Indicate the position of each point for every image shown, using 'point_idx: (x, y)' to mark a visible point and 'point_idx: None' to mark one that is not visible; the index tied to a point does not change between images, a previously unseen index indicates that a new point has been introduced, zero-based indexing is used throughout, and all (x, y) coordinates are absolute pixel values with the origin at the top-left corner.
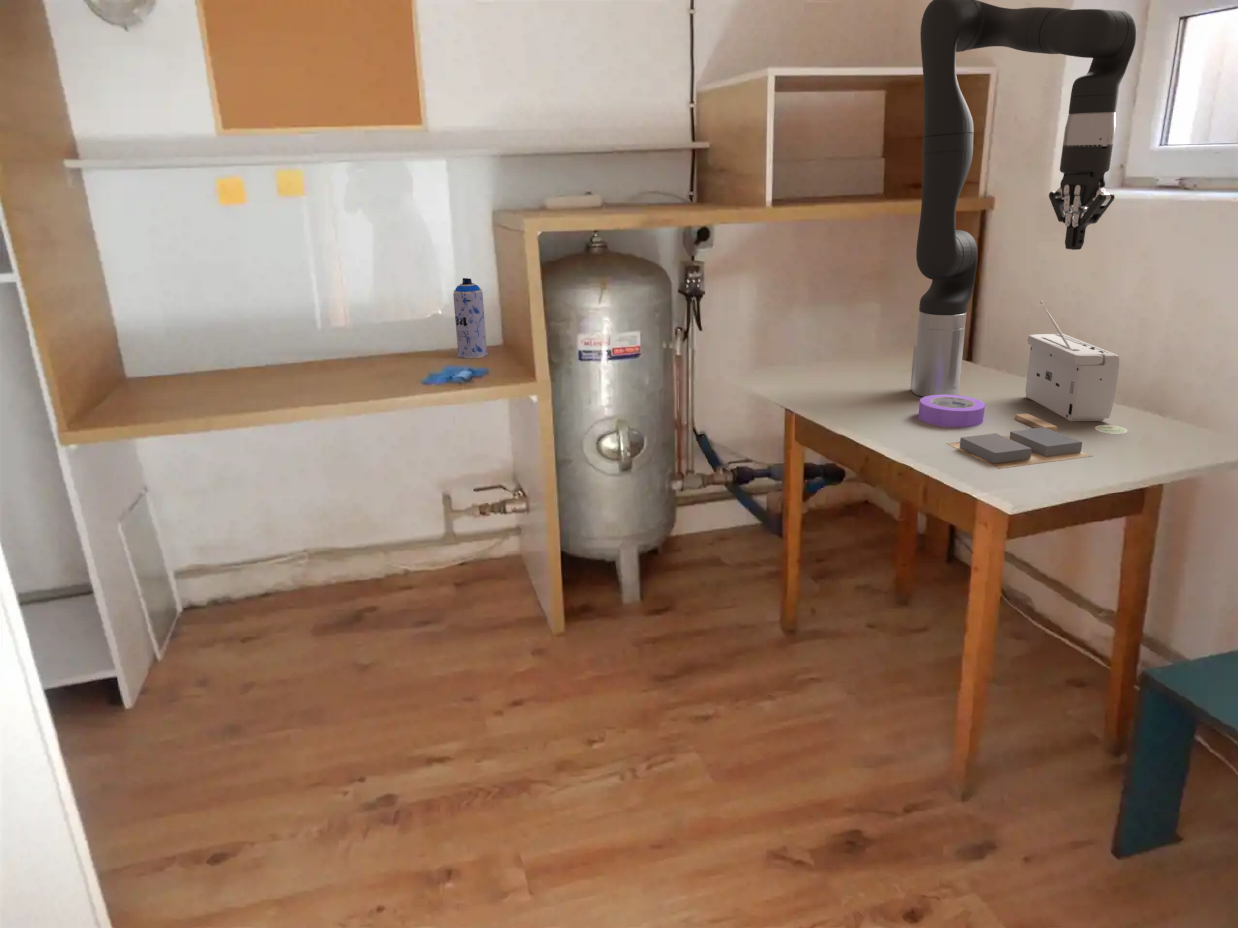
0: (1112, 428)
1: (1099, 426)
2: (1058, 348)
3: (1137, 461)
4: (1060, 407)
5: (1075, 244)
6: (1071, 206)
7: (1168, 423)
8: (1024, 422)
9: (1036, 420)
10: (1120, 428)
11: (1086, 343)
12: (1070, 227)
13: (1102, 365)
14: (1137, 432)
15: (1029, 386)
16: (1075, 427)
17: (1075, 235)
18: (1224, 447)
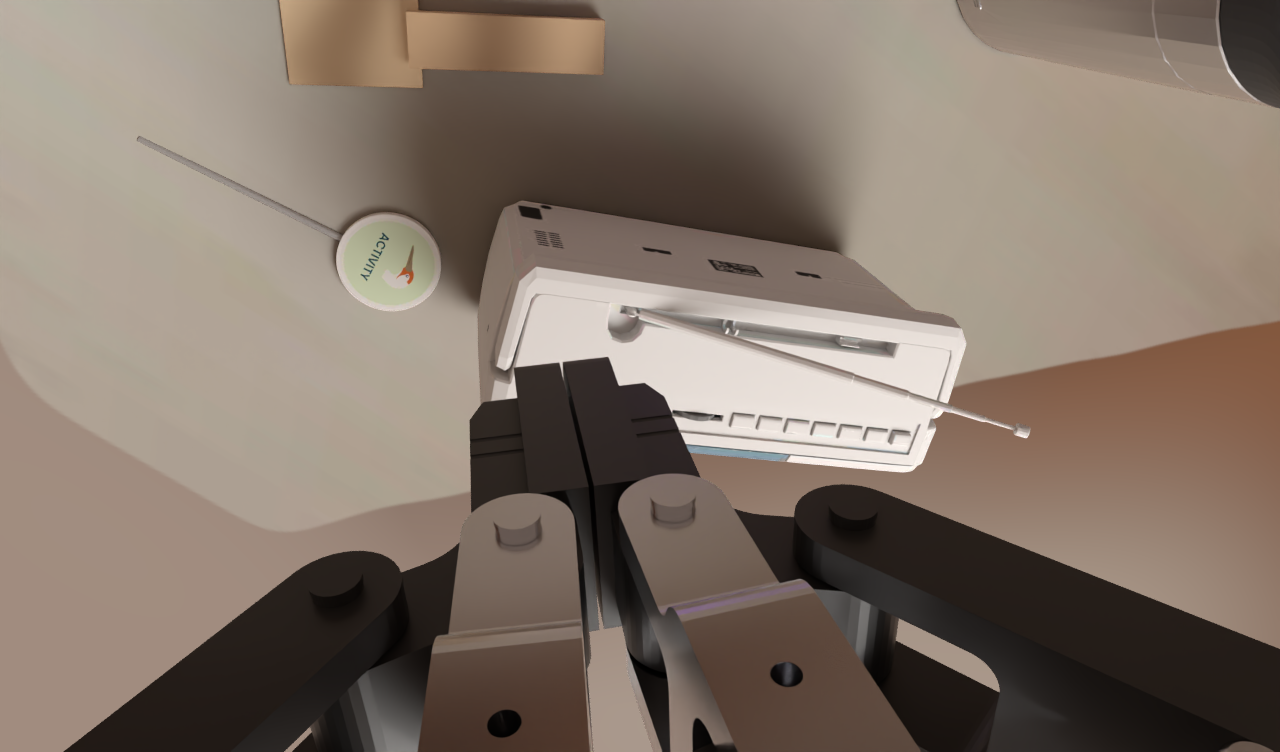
0: (397, 274)
1: (428, 248)
2: (697, 289)
3: (29, 117)
4: (599, 220)
5: (487, 411)
6: (701, 712)
7: (437, 475)
8: (540, 16)
9: (505, 44)
10: (390, 297)
11: (717, 440)
12: (603, 486)
13: (490, 351)
14: (366, 335)
15: (836, 262)
16: (465, 182)
17: (514, 464)
18: (169, 466)
